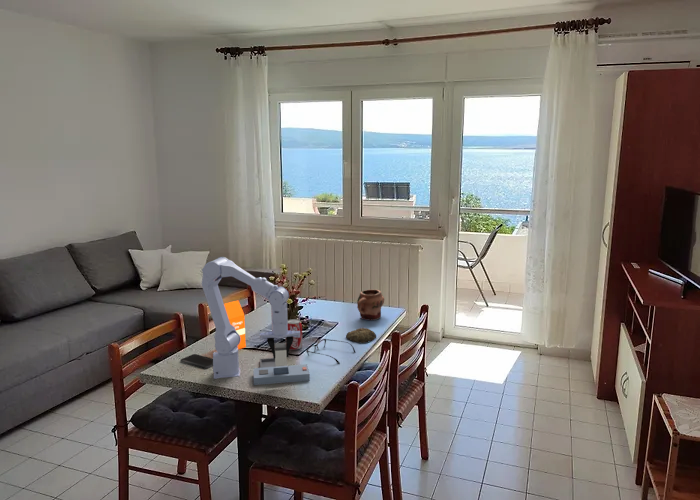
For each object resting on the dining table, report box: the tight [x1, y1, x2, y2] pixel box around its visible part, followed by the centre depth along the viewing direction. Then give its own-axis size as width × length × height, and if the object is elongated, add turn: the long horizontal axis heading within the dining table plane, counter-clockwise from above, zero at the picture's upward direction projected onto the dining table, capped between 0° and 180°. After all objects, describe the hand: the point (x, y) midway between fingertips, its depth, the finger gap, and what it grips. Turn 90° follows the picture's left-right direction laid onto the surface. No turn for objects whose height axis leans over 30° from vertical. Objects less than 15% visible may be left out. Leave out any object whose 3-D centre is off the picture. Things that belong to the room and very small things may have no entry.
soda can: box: [288, 318, 303, 351], centre depth 226 cm, size 7×7×12 cm
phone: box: [180, 353, 213, 370], centre depth 213 cm, size 8×1×15 cm
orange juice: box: [224, 300, 247, 350], centre depth 227 cm, size 8×9×20 cm
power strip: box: [252, 363, 311, 386], centre depth 197 cm, size 20×9×3 cm, turn 100°
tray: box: [259, 357, 276, 368], centre depth 208 cm, size 9×10×2 cm
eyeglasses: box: [305, 338, 356, 365], centre depth 220 cm, size 16×16×4 cm
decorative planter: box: [356, 289, 385, 321], centre depth 265 cm, size 20×12×14 cm, turn 150°
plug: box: [274, 342, 288, 367], centre depth 196 cm, size 4×5×7 cm
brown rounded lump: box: [345, 327, 377, 344], centre depth 239 cm, size 13×12×5 cm
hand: (280, 356), depth 196 cm, fingers closed on plug, 4 cm apart
